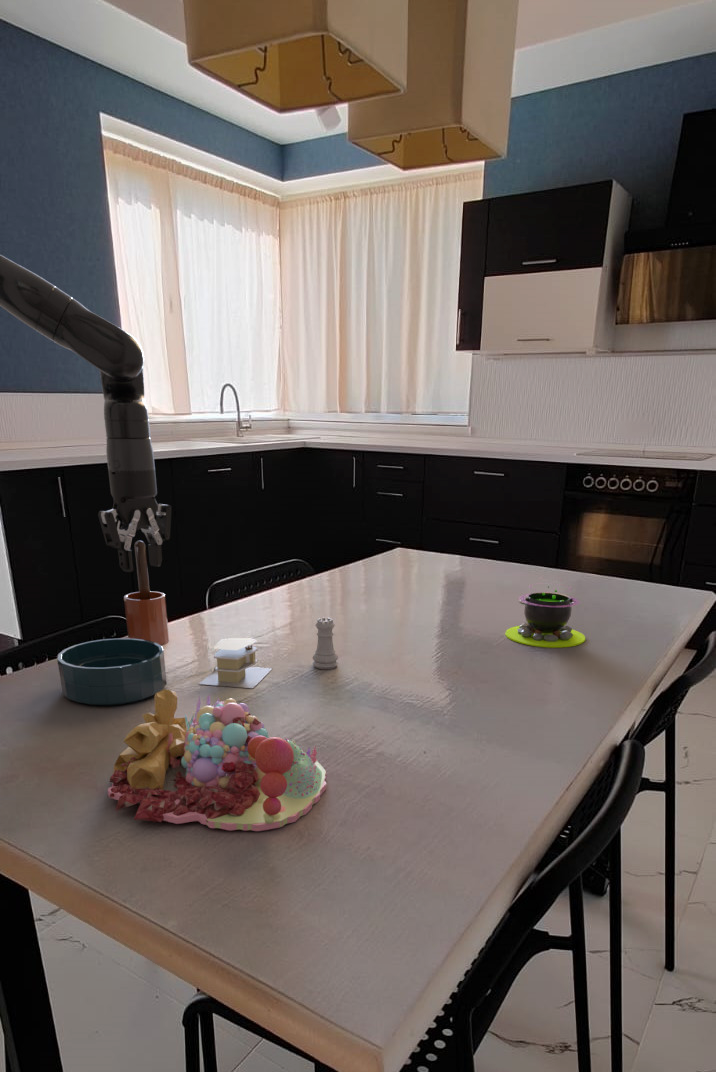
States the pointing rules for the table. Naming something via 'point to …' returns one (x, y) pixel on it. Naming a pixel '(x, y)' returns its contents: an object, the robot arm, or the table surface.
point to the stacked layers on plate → (236, 664)
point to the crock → (147, 617)
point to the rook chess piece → (325, 645)
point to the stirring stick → (142, 570)
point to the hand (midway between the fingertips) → (141, 568)
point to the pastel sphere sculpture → (214, 769)
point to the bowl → (112, 671)
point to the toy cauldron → (546, 621)
